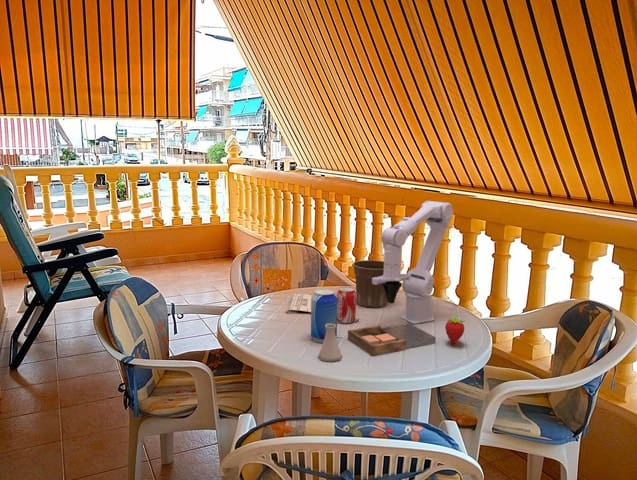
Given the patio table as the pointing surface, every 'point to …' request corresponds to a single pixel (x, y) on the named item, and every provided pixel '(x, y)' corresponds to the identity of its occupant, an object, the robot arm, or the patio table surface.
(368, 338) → the tile
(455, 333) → the strawberry
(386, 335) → the tile
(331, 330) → the flask
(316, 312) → the beer can
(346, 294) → the soda can
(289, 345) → the patio table surface
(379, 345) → the box
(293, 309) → the newspaper
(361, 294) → the plant pot
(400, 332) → the grey plate
